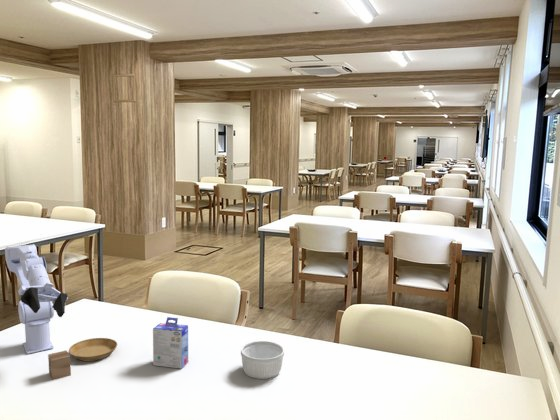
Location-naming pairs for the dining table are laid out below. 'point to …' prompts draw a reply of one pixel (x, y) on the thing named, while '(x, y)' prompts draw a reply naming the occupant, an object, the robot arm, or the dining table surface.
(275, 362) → the ramekin
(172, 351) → the ink cartridge box
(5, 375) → the dining table surface
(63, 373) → the walnut block
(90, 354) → the plant saucer
